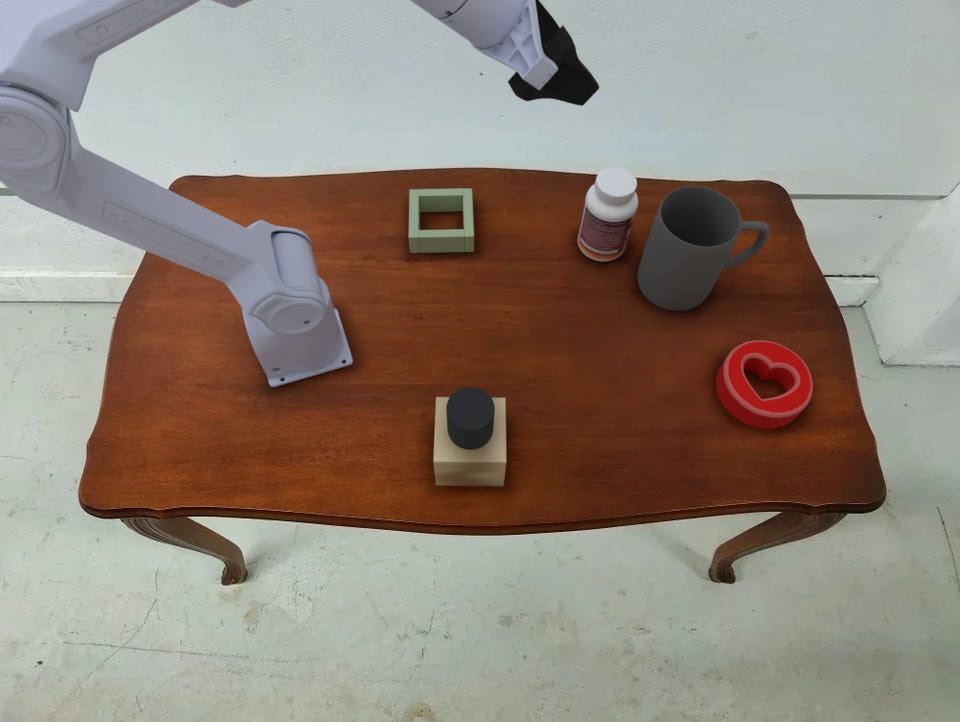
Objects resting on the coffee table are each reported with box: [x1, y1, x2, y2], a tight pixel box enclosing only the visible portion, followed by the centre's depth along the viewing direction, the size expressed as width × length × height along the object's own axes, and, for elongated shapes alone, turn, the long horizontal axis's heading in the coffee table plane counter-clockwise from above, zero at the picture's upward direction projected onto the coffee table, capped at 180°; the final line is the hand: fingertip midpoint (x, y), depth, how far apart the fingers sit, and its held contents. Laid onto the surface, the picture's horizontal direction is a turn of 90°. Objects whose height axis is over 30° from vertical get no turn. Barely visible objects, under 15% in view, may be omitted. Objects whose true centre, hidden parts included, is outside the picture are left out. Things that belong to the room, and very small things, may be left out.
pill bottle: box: [577, 166, 639, 263], centre depth 85 cm, size 6×6×11 cm
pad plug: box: [446, 386, 495, 450], centre depth 67 cm, size 4×4×4 cm
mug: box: [637, 185, 771, 312], centre depth 82 cm, size 14×9×12 cm
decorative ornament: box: [715, 339, 814, 430], centre depth 78 cm, size 10×10×3 cm
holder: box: [408, 187, 475, 254], centre depth 89 cm, size 8×8×3 cm
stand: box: [432, 396, 507, 487], centre depth 72 cm, size 7×7×6 cm
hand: (570, 66), depth 59 cm, fingers open, 7 cm apart
